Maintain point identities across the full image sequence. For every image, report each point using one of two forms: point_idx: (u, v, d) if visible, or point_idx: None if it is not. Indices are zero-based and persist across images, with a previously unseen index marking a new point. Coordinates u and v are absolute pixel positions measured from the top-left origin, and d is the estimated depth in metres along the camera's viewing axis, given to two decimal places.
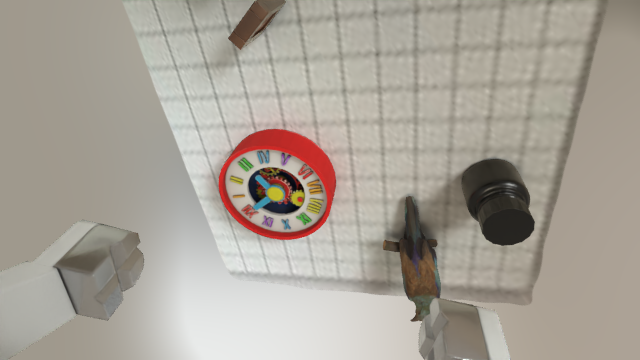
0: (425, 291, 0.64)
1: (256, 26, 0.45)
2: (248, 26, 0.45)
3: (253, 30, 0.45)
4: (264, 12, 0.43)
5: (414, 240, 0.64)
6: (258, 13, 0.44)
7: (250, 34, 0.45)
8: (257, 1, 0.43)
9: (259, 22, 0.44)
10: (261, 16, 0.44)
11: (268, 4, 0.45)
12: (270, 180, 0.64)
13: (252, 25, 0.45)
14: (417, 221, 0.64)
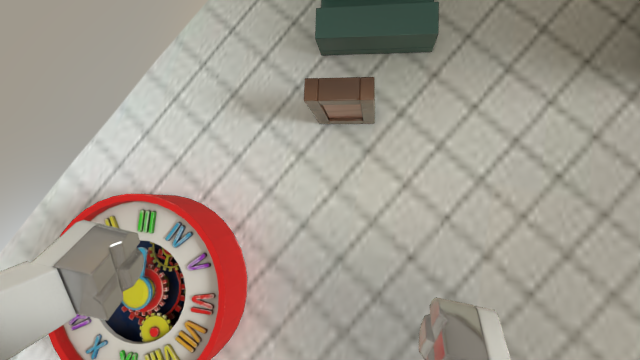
0: None
1: (347, 98, 0.31)
2: (339, 90, 0.31)
3: (339, 98, 0.31)
4: (370, 95, 0.31)
5: None
6: (363, 90, 0.31)
7: (332, 98, 0.31)
8: None
9: (355, 98, 0.31)
10: (363, 95, 0.31)
11: None
12: (150, 270, 0.38)
13: (344, 93, 0.31)
14: None
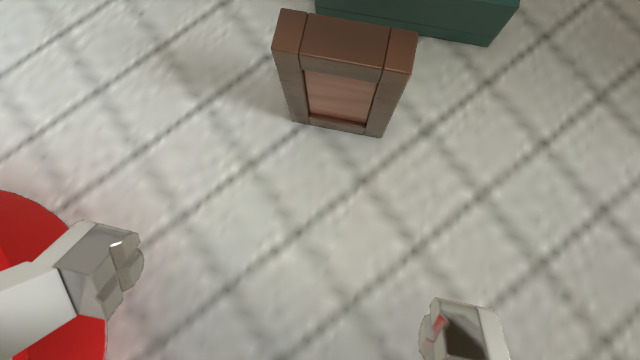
0: None
1: (359, 61, 0.15)
2: (345, 42, 0.15)
3: (343, 58, 0.15)
4: (406, 65, 0.15)
5: None
6: (394, 52, 0.15)
7: (328, 56, 0.15)
8: None
9: (374, 64, 0.15)
10: (392, 62, 0.15)
11: None
12: None
13: (354, 51, 0.15)
14: None
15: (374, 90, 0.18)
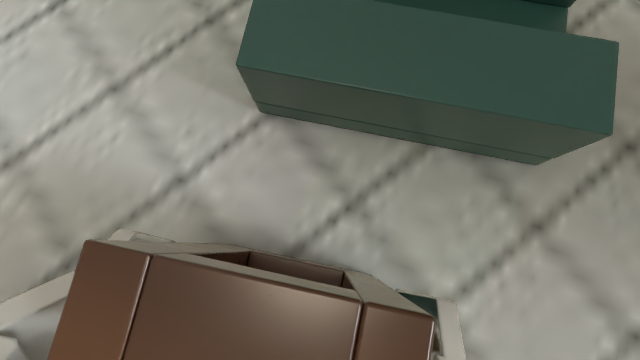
0: None
1: None
2: (243, 348, 0.06)
3: None
4: None
5: None
6: None
7: None
8: None
9: None
10: None
11: None
12: None
13: None
14: None
15: None
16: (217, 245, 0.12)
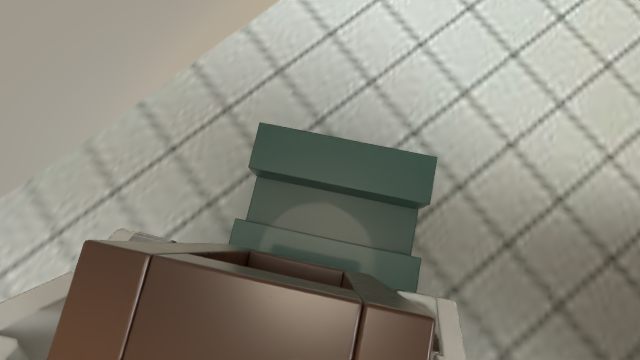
0: None
1: None
2: (242, 348, 0.06)
3: None
4: None
5: None
6: None
7: None
8: None
9: None
10: None
11: None
12: None
13: None
14: None
15: None
16: (217, 245, 0.12)
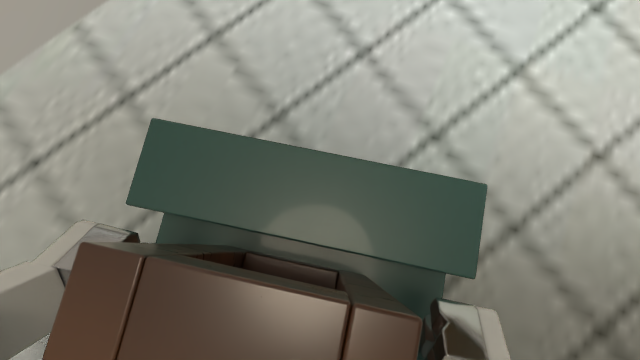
0: None
1: None
2: (233, 348, 0.06)
3: None
4: None
5: None
6: None
7: None
8: None
9: None
10: None
11: None
12: None
13: None
14: None
15: None
16: (213, 246, 0.12)
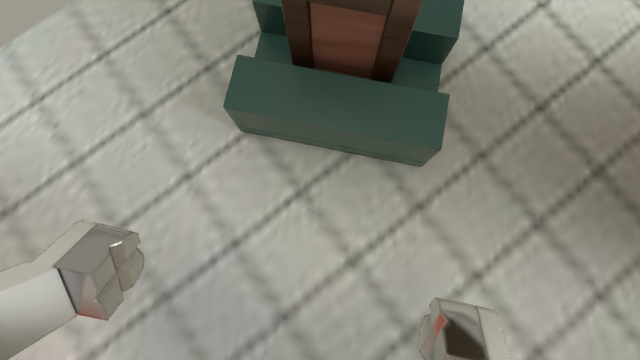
0: None
1: None
2: None
3: None
4: None
5: None
6: None
7: None
8: None
9: None
10: None
11: None
12: None
13: None
14: None
15: (383, 29, 0.17)
16: None
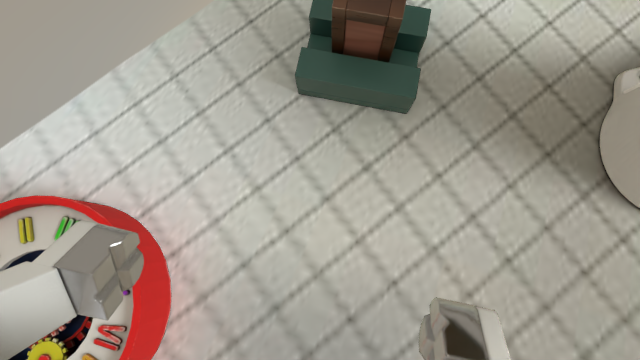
0: None
1: (376, 13, 0.30)
2: (369, 4, 0.31)
3: (368, 12, 0.30)
4: (400, 15, 0.30)
5: None
6: (394, 8, 0.30)
7: (361, 10, 0.30)
8: None
9: (384, 14, 0.30)
10: (393, 13, 0.30)
11: None
12: None
13: (374, 8, 0.30)
14: None
15: (383, 32, 0.33)
16: None
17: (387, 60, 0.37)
